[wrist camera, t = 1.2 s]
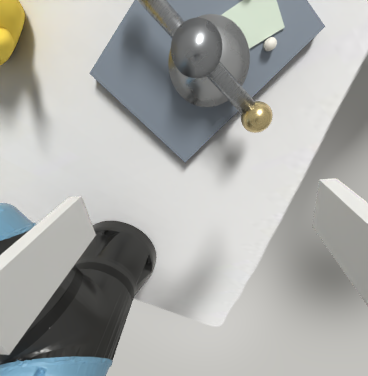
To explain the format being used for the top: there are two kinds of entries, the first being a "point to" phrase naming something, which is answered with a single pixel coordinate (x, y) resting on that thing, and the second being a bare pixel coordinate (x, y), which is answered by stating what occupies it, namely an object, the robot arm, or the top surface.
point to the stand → (159, 71)
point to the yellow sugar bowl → (10, 27)
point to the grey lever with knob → (209, 62)
